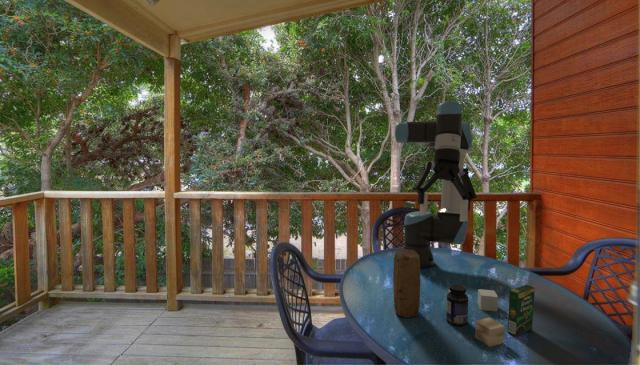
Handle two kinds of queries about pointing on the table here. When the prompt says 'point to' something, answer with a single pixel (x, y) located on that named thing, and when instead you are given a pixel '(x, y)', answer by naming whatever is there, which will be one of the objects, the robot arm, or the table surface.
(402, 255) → the block
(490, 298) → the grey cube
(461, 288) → the pill bottle
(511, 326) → the coffee box
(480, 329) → the birch cube
